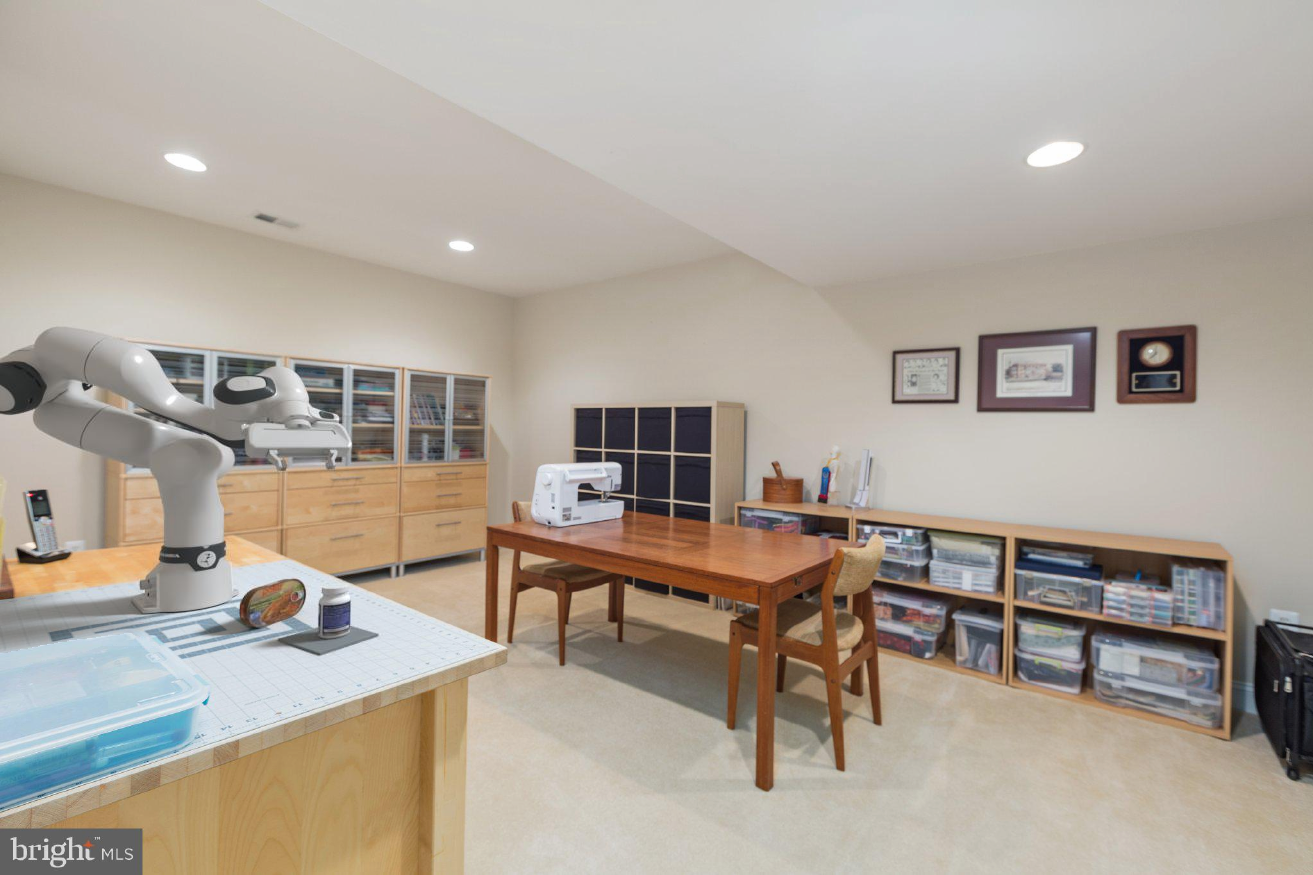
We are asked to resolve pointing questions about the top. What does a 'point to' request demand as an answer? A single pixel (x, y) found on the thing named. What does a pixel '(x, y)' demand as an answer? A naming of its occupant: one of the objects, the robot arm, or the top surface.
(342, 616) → the pill bottle
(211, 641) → the top surface
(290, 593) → the tin
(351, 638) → the mat
